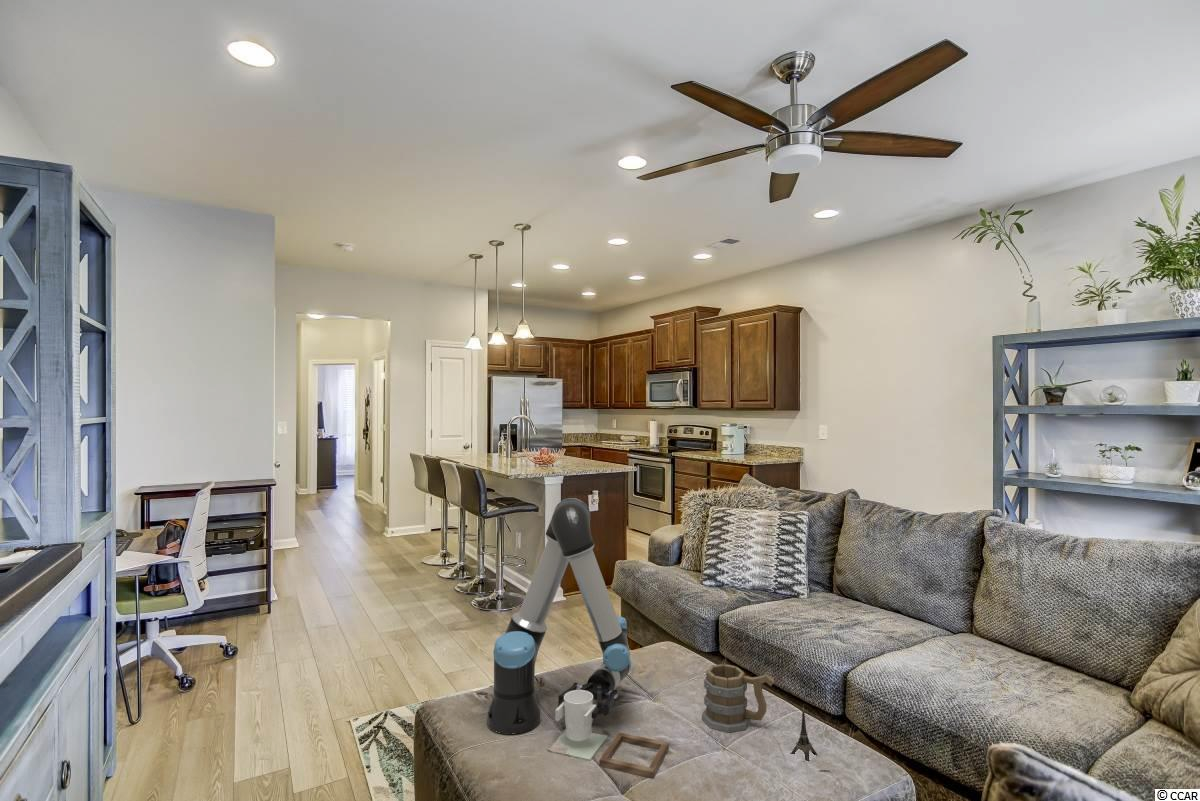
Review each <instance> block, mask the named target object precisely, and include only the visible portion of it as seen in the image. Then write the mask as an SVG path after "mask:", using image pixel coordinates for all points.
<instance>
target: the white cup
mask: <svg viewBox="0 0 1200 801" xmlns="http://www.w3.org/2000/svg"><path fill="white" fill-rule="evenodd" d="M593 705H594V700H593V694H592V693H590V692H589V691H585V690H573V691H570V692H568V693H566V694H565V695H564V713H565V714H564V723H565V724H564V726H565V730H566V736H567V737H568V738H569V739H571V740H574V741H582V740H586V739H588V738H589V737H590V736H591V733H592V724H593V720H592V721H591V722H590V724H589V725H588V726H587V727H585V726H584V715H585V714H586V713H587V712H588V710H589V709H590V708H591V707H592V706H593Z"/></svg>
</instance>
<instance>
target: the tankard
mask: <svg viewBox="0 0 1200 801" xmlns="http://www.w3.org/2000/svg"><path fill="white" fill-rule="evenodd" d="M705 672H706V673H705V676H706V677H705V678H704V679H703V687H704V688H705V689H706V693H705V695H704V697H703V703H704V706H706V707H705V709H704V710H703V711H702V713H701V719H702V721H703V722H704V723H705V724H706V725H707V726H708V727H709V728H711V729H712V730H715V731H720V732H725V733H734V732H740V731H745V730H746V728H747V727H748V726H749V724H750V721H762V720H763V718H764V717H765V715H766V713H767V701H766V699H765V696H764V692H763V685H762V684H764V683H765V684H767V685H768V686H770V687H772V685H773V684H774V683H775V679H774V678H772V677H771V676H770V675H768V674H763V675H759V676H754V677H753V676H752V677H751V676H748V675H747V676H746V675H745V672H744V670H742V669H740V668H739V667H738V666H735V665H731V664H727V663H726V664H725V663H724V664H723V663H721V664H712V665H710V666H709V667H708V668H707V669H706V671H705ZM748 684H750V685H753V692H754V697H755V699H756V702H757V706H758V710H757V711H752V710H749V709H747V707H748V698H747V697H746V691H747V690H748Z"/></svg>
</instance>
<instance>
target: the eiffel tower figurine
mask: <svg viewBox="0 0 1200 801" xmlns="http://www.w3.org/2000/svg"><path fill="white" fill-rule="evenodd" d="M801 711H802V712H801V714H802V716H801V727H800V728H801V729H800V733H799V738H798V741H797V742H796V744H795V746H794V747H793V749H792V751H790V752H791V753H790V754H795V752H796V751H797V750H798V749H800V750H802V751H803V752H804V754H805V760H806V761H808V762H809V761H810V760H809V751H811V752H812V753H813V754H814V755H816V756H817V755H818V756H819V754H818V753H817V751H816V750H815V749H814V747H813V746H812V743H811V741H810V740H809V736H808V732H807V725H806V714H805V712H806V708H804V704H803V706H802V708H801ZM818 756H817V757H818ZM809 763H810V762H809ZM817 772H819V773H821V772H824V773H825V772H831V771H830V770H828V769H820V770H817Z"/></svg>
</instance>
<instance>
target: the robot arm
mask: <svg viewBox="0 0 1200 801" xmlns="http://www.w3.org/2000/svg"><path fill="white" fill-rule="evenodd" d="M591 514H592V513H591V511H590V507H588V506H587V504H586V503H585V502H584V501H582V500H580V499H578V498H573V497H571V498H564V499H562V500H561V501H559V503H557V505H556V506H555V508H554V510H553V513H552V516H551V519H550V521H549V524H548V527H547V529H546V531H545V534H544V535H545V537H546V539H547V542H546V544H545V547H544V549H543V552H542V555H541V556H540V560H539V562H538V564H537V567H536V569H535V572H534V573H533V576H532V579H531V581H530V583H529V586H528V590H527V591H526V594H525V596H524V598H523V602H522V604H521V606H520V609H519V611H517V612H515V613H513V614H512V616H511V617H510V621H509V623H508V626H507V628H506V630H505V631H504V634H501V635H499V637H498V638H496V640H495V642H494V646H493V647H494V648H493V697H492V700H491V703H490V706H489V708H488V712H487V723H488V724H487V727H488V726H489V727H490V728H491V729H492V730H491V729H490V728H489V727H488V728H489V729H490V730H491V731H493V730H494V731H497V732H500V733H499V734H501V733H506V734H505V735H513V734H512V733H520V734H524V733H528V732H530V731H532V730H534V729H535V728H536V727H538V726H539V724H540V723H541V708H540V706H539V702H538V699H537V698H538V697H537V695H536V692H535V686H536V685H535V684H536V683H535V679H536V678H535V671H536V670H535V668H536V667H535V666H536V661H537V656H538V654H539V653H538V652H539V650H540V648H541V644H542V642H543V640H544V637H545V634H546V633H547V630H548V627H547V624H546V619H547V617H548V614H549V612H550V609H551V607H552V604H553V602H554V600H555V598H556V594H557V591H558V590H559V587H560V584H561V583H562V580H563V576H564V574H565V572H566V569H567V566H568V565H569V564H570V566H571V570H572V572H573V576H574V578H575V580H576V584H577V586H578V589H579V592H580V594H581V596H582V597H581V598H582V600H583V602H584V605H585V608H586V610H587V614H588V617H589V619H590V622H591V624H592V627H593V630H594V632H595V635H596V637H597V641H598V644H599V647H600V649H601V653H602V664H601V665H600V666H599V667H598V668H597V669H596V670H595V671H594V672H593V673H592V674H591V676H589V678H588V680H587V681H586V683H584V684H582V685H579V683H578V682H573V684H572V686H570V687H568V688H567V689H566V690H565V691H563V692H561V693H560V694H559V695H558V697H557V698H558V699H557V700H558V703H557V707H556V708H555V711H554V713H555V721H557V722H559V721H560V719H562V718H563V717H564V716H565V713H564V695H565V694H566V693H568V692H570V691H573V690H585V691H589V692H590V693H592V694H593V701H596V704H594V703H593V706H592V707H591V708H590V709H589V710H588V712H587V713H586V714H585V715H584V726H585V727H587V726H588V725H589V724H590V722H591V721H592V722H593V720H596V719H597V718H598V717H599V716H600V715H602V714H604V715H605V716H608V715H609V714H610V712H611V710H612V707H613V705H614V704H615V702H616V701H618V696H619V694H618V692H619V691H618V690H617V689H616V688H617V687H618V686H619V685H620V683H622V681H623V680H624V679H625V678H626V677H627V676H628V674H629V672H630V671H631V668H632V661H631V652H630V649H629V642H628V627H627V619H626V618H625V617H623V616H620V615H617V613H616V611H615V607H614V604H613V601H612V599H611V597H610V594H609V591H608V588H607V586H606V585H607V584H606V583H605V580H604V577H603V575H602V571H601V569H600V566H599V564H598V561H597V558H596V554H595V553H594V547H595V543H594V539H593V537H592V531H591V523H590V522H591V516H592V515H591ZM604 700H605V702H604V704H603V703H602V702H603V701H604ZM602 704H603V705H602ZM494 731H493V732H494ZM497 732H496V733H497ZM507 733H508V734H507Z"/></svg>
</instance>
